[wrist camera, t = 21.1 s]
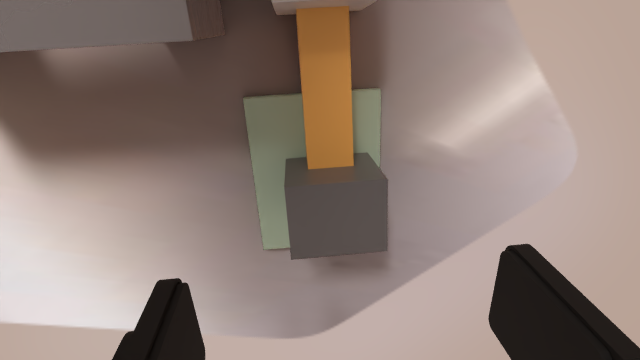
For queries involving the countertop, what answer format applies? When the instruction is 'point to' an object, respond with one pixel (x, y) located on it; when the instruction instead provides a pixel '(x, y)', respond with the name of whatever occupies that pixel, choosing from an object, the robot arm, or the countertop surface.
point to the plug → (330, 143)
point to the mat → (295, 149)
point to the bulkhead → (105, 22)
